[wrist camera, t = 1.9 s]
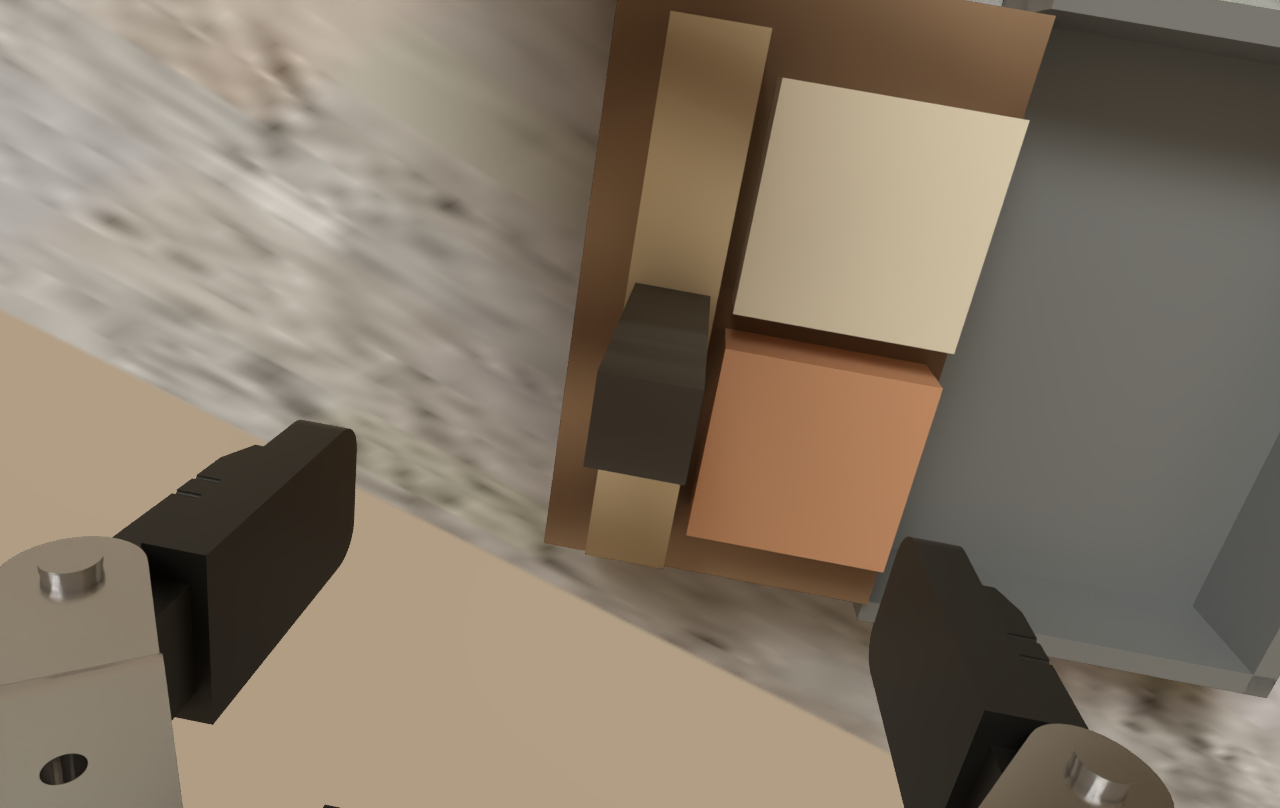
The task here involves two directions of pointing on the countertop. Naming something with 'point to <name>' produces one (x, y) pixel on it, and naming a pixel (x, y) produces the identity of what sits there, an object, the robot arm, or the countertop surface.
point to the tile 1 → (810, 449)
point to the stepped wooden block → (801, 50)
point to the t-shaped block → (672, 285)
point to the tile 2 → (873, 213)
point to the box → (1128, 353)
